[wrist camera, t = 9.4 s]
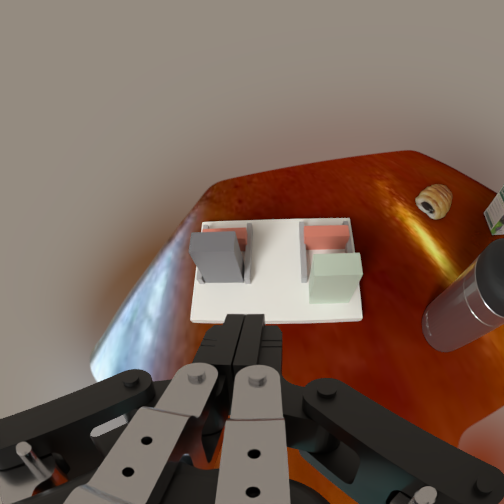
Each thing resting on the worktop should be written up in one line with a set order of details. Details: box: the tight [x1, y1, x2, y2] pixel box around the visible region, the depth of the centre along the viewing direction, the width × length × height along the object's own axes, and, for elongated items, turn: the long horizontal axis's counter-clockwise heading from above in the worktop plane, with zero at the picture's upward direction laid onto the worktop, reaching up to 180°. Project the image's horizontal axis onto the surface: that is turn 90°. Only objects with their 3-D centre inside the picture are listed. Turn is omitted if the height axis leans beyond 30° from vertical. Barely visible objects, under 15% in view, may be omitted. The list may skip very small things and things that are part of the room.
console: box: [190, 218, 363, 324], centre depth 48 cm, size 26×18×6 cm
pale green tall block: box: [309, 253, 363, 304], centre depth 41 cm, size 6×3×10 cm, turn 88°
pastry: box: [415, 184, 452, 219], centre depth 52 cm, size 9×7×4 cm
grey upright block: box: [189, 231, 245, 283], centre depth 45 cm, size 6×3×10 cm, turn 88°
